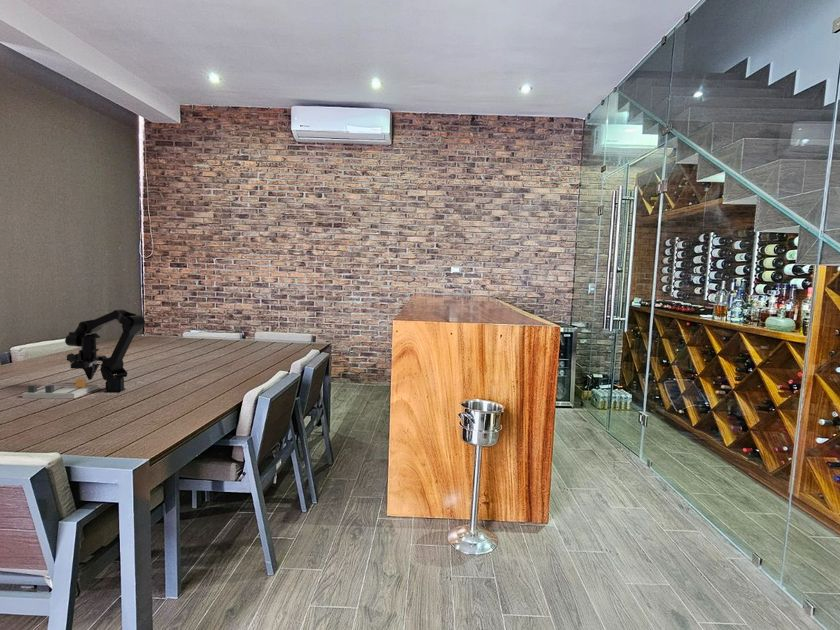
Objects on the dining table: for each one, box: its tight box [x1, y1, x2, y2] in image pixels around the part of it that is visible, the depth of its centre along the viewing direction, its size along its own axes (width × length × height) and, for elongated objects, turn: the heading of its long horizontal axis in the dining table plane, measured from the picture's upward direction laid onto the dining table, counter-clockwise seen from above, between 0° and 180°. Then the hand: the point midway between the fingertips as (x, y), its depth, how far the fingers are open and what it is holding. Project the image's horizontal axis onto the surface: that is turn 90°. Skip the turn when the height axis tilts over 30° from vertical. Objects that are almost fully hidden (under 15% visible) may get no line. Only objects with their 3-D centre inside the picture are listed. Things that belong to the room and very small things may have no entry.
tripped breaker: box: [75, 378, 87, 388], centre depth 211 cm, size 3×2×4 cm, turn 96°
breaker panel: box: [22, 383, 98, 399], centre depth 209 cm, size 21×17×5 cm
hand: (90, 379), depth 218 cm, fingers closed
